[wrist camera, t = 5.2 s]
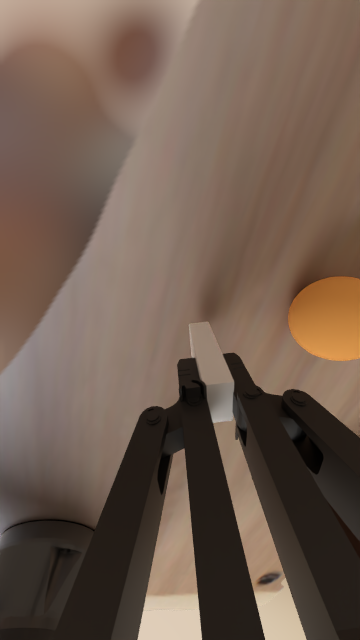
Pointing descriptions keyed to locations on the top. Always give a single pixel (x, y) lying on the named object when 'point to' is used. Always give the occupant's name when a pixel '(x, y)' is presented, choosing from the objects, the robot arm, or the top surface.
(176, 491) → the top surface
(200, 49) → the top surface
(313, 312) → the ball
